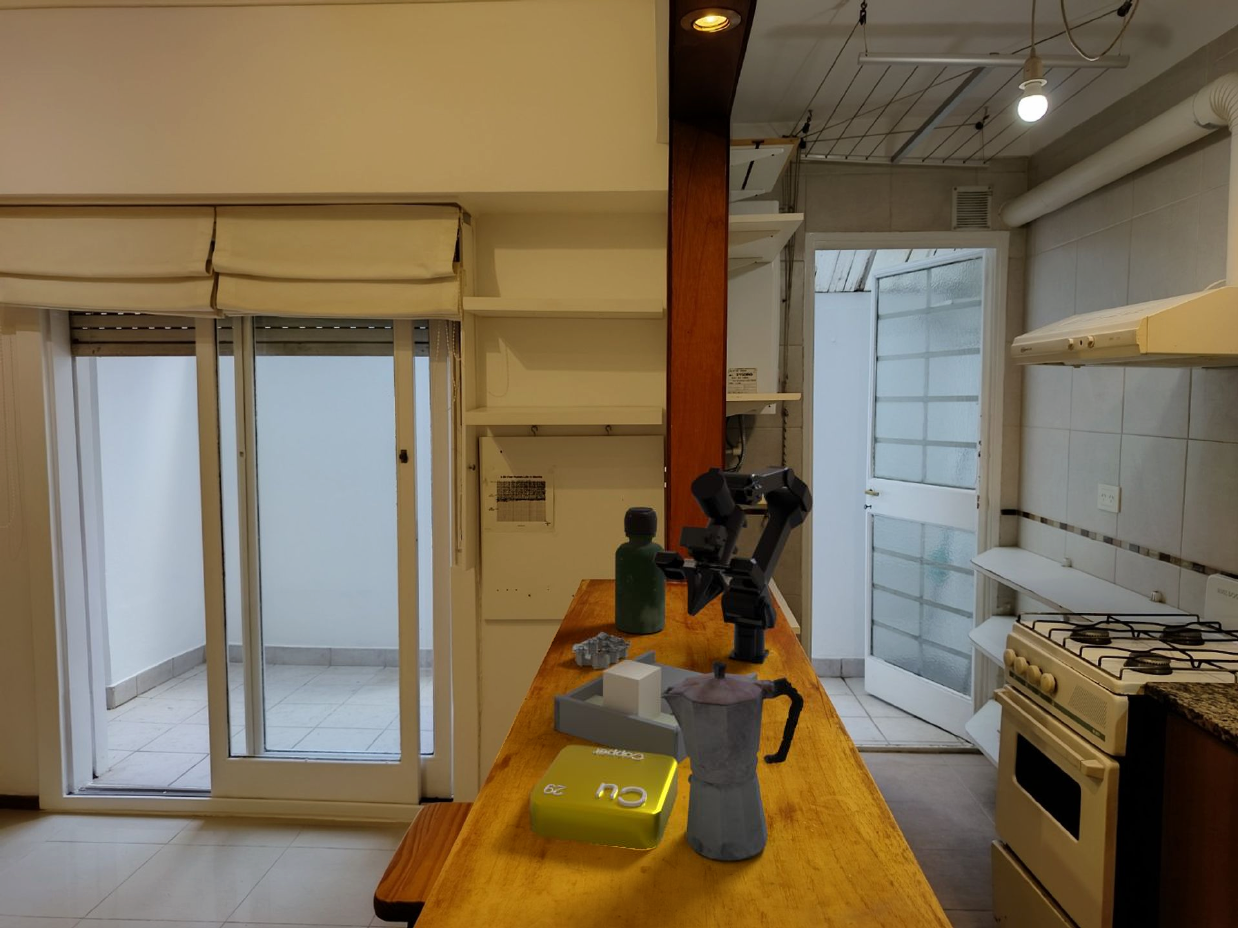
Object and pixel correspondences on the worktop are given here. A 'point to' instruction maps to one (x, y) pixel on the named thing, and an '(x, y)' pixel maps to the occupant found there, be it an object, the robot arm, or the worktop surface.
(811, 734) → the worktop surface
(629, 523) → the green capped bottle
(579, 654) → the egg carton
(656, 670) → the cream block
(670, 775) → the element tile
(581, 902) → the worktop surface
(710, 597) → the robot arm
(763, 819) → the moka pot
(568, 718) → the gray open tray
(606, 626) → the worktop surface
